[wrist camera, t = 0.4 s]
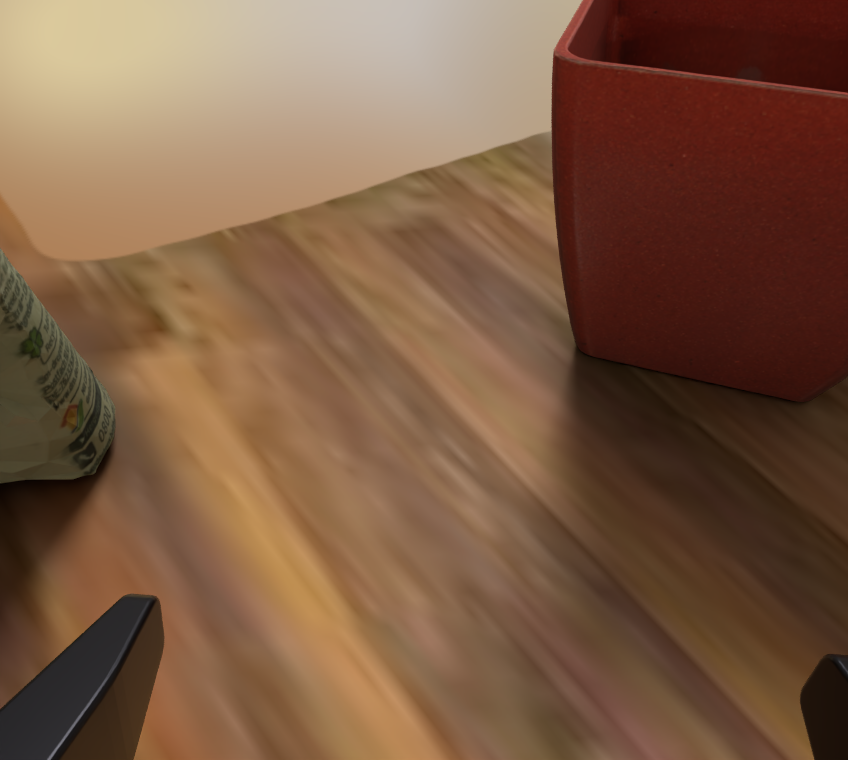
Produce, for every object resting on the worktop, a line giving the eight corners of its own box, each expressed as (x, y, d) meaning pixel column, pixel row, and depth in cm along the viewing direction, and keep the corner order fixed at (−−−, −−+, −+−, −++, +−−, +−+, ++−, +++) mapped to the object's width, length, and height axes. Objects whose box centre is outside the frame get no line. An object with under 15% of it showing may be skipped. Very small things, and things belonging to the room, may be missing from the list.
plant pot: (500, 378, 38) (548, 48, 27) (561, 212, 52) (611, -54, 40) (885, 471, 34) (1134, 131, 23) (842, 265, 48) (986, -13, 36)
